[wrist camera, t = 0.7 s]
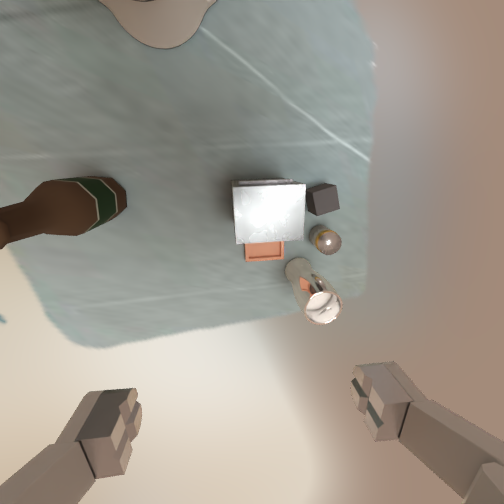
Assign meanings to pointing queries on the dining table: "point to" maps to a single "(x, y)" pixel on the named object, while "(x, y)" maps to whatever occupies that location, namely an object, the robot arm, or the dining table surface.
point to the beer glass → (313, 292)
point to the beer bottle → (63, 208)
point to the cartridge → (325, 239)
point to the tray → (264, 251)
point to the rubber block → (322, 199)
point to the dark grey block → (268, 210)
